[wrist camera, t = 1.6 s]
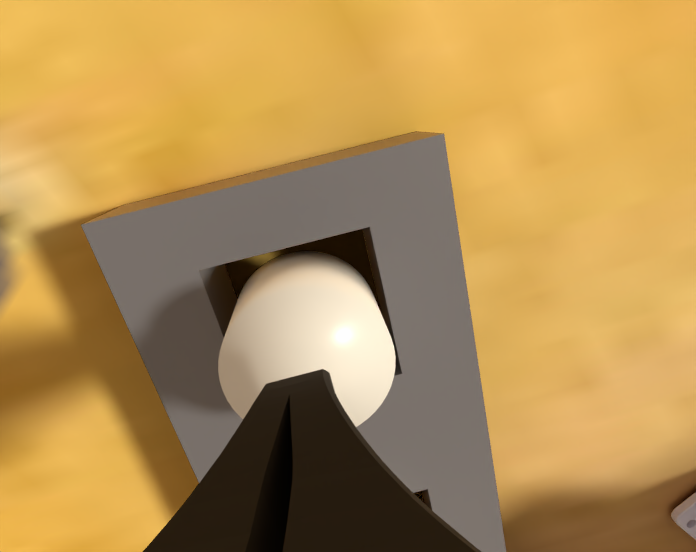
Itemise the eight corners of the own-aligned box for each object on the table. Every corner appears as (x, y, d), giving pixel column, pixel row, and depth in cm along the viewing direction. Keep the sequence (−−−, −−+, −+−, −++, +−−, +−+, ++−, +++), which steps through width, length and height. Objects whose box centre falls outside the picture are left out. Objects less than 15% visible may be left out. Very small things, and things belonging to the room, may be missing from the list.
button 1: (359, 234, 13) (375, 266, 10) (388, 360, 15) (409, 417, 12) (215, 271, 13) (191, 313, 10) (259, 393, 14) (249, 459, 12)
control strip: (416, 131, 15) (443, 133, 12) (506, 661, 25) (533, 731, 22) (123, 205, 14) (81, 224, 12) (333, 709, 24) (337, 785, 22)
